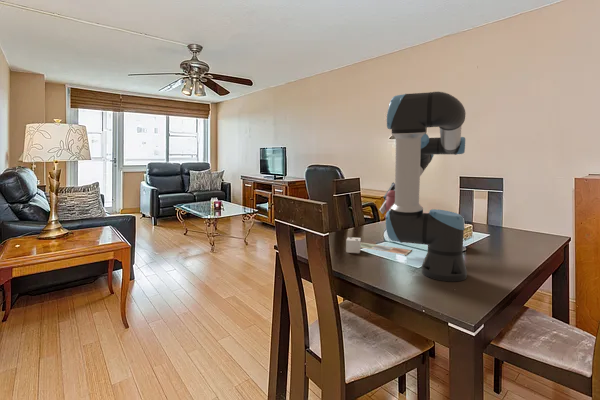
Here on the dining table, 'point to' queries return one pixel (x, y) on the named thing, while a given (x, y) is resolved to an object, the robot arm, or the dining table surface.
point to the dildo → (390, 200)
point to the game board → (385, 248)
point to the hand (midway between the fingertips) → (385, 212)
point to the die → (353, 245)
